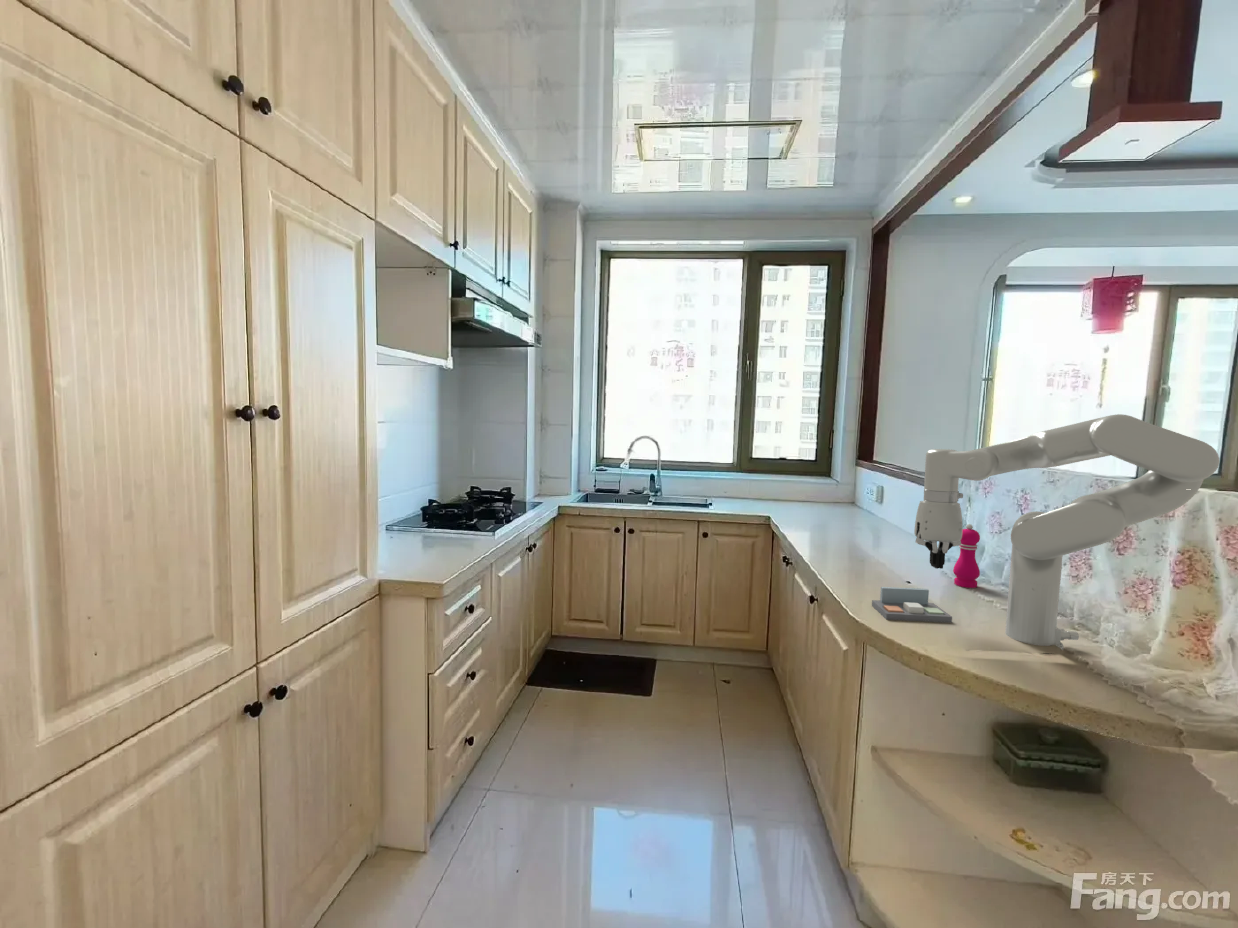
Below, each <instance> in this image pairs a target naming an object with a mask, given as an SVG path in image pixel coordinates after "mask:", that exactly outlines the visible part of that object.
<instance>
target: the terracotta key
mask: <svg viewBox="0 0 1238 928" xmlns="http://www.w3.org/2000/svg"><path fill="white" fill-rule="evenodd" d="M884 609H885V610H887V611H888V612H900V613H903V610H902V609H901V608H899V607H898V606H885V605H884Z"/></svg>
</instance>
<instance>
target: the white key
mask: <svg viewBox="0 0 1238 928" xmlns="http://www.w3.org/2000/svg"><path fill="white" fill-rule="evenodd" d="M903 609H904V610H905V611H907V612H908V613H921V614H924V607H923V606H921V605H920V604H919V603H909V602H904V604H903Z"/></svg>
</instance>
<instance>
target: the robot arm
mask: <svg viewBox="0 0 1238 928" xmlns="http://www.w3.org/2000/svg"><path fill="white" fill-rule="evenodd" d="M1109 456H1112V457H1114V458H1116V459H1119V460H1121V461H1123V462H1127V463H1129V464H1132V465H1134V466H1136V467H1139V468H1141V469H1144V470H1147V472H1146V473H1144V474H1143V475H1141V476H1139V477H1137V478H1135V479H1132V480H1130V481H1126V482H1124V483H1121V484H1118V485H1116V486H1113V487H1110V488H1106V489H1104V490H1101V491H1098V492H1094V493H1090V494H1086V495H1082V496H1080V497H1077V498H1075V499H1074V500H1072V501H1071V502H1070V503H1069V504H1068V505H1065V506H1062V507H1059V508H1054V509H1053V510H1049V511H1046V512H1044V511H1035V510H1034V511H1029V512H1026V513H1024V514H1022V515H1020V516H1019V517H1018V518H1017V519H1016V520H1015V522H1014V524H1013V525H1012V528H1011V533H1010V542H1011V544H1012V545H1011V554H1010V555H1011V556H1010V567H1009V578H1008V579H1009V582H1008V590H1007V591H1008V593H1007V608H1006V620H1005V633H1004V634H1005V635H1006V636H1007V637H1008V638H1011V639H1013V640H1015V641H1017V642H1020V643H1023V644H1024V643H1025V644H1029V645H1034V646H1041V647H1042V646H1044V647H1047V646H1048V647H1050V646H1056V647H1057V648H1059V649H1060V650H1062V651H1063V650H1064V644H1063V643H1062V642H1061V641H1064V640H1070V641H1071V640H1072V641H1078V640H1079V639H1080V636H1079V633H1078V632H1077V631H1073V630H1072V631H1071V630H1066V631H1065V629H1064V628H1060V627H1057V625H1058V612H1059V601H1060V600H1059V599H1060V590H1061V589H1060V588H1061V582H1062V581H1061V579H1062V569H1063V567H1062V566H1063V556H1066V555H1069V554H1073V553H1076V552H1080V551H1083V550H1088V549H1090V548H1094V547H1097V546H1101V545H1103V544H1106V543H1109V542H1111V541H1113V540H1114V539H1116V538H1118V537H1119V536H1120V535H1121V534H1122V533H1123V531H1124V530H1125V528H1127V527H1130V526H1133V525H1135V524H1136V525H1137V524H1138V523H1142V522H1145V521H1148V520H1151V519H1154V518H1157V517H1159V516H1163V515H1166V514H1168V513H1171V512H1173V511H1175V510H1178V509H1179V508H1181V507H1182V506H1184V505H1185V504H1186V503H1188V502H1189V501H1190V500H1191V499H1192V498H1193V497H1194V496H1195V495H1196V494H1197V492H1198V491H1199V490H1200V489H1201V486H1202V484H1203V482H1204V480H1206V479H1208V478H1209V477H1210V476H1212V475H1214V473H1216V471H1217V470H1218V468H1219V466H1220V465H1219V464H1220V457H1219V454H1218V452H1217V450H1216V449H1215V448H1214V447H1213V446H1211V444H1209V443H1207V442H1205V441H1202V440H1200V439H1197V438H1194V437H1192V436H1187V435H1185V434H1183V433H1179V432H1176V431H1173V430H1171V429H1170V430H1169V429H1167V428H1165V427H1161V426H1158V425H1155V424H1153V423H1150V422H1148V421H1145V420H1142V419H1139V418H1136V417H1134V416H1131V415H1127V414H1119V413H1118V414H1110V415H1105V416H1102V417H1101V416H1100V417H1097V418H1093V419H1090V420H1089V419H1088V420H1084V421H1081V422H1078V423H1077V422H1076V423H1073V424H1068V425H1064V426H1061V427H1055V428H1052V429H1047V430H1043V431H1039V432H1035V433H1032V434H1030V435H1028V436H1025V437H1021V438H1018V439H1014V440H1010V441H1006V442H1002V443H997V444H994V445H990V446H989V445H988V446H985V447H980V448H976V449H975V448H974V449H973V450H972V449H971V450H962V451H959V450H955V449H949V448H948V449H947V448H944V449H943V448H931V449H928V450H927V452H926V453H925V465H924V466H925V467H924V482H923V483H924V485H923V487H924V488H923V500H920V501H919V504H918V507H917V511H916V516H915V522H914V533H913V534H914V536H915V538H916V539H915V543H916V544H917V545H920V546H924V547H925V548H926V549H927V551H929V564H930V566H931V567H933V568H934V569H940V570H941V569H942V570H943V569H944V565H946V564H945V563H946V562H945V561H946V560H945V559H946V558H945V557H946V554H947V553H948V551H949V550H950V549H952V548H953V547H959V545H961V538H962V529H963V514H962V508H961V507H962V506H961V505H960V504H961V503H959V499H963V498H964V493H962V492H959V491H960V490H959V483H960V482H959V481H960V480H959V479H963V480H968V481H975V482H977V481H984V480H986V479H988V478H990V477H993V476H997V475H1001V474H1007V473H1012V472H1016V471H1022V470H1028V469H1049V468H1055V467H1060V466H1064V465H1065V466H1066V465H1069V464H1073V463H1074V464H1075V463H1080V462H1085V461H1089V460H1094V459H1099V458H1104V457H1109ZM1186 489H1191V490H1186ZM1044 654H1046V655H1047V654H1048V655H1049V654H1051V655H1053V653H1050V652H1049V653H1048V652H1044Z"/></svg>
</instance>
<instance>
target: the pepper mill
mask: <svg viewBox="0 0 1238 928" xmlns="http://www.w3.org/2000/svg"><path fill="white" fill-rule="evenodd" d="M965 527H966V528H962V538H961V545H959V546H958V547H959V549H960V551H959V557H958V559H957V560H956V562H955V564H954V567H953V568H952V569H953V570H952V571H953V574H954V575H955V576H956V577H954V581H953V582H954V585H956V586H957V587H961V588H966V589H976V588H977V587H978V580H977V579H978V578H979V577H980V575H981V572H980V567H979V565H978V562H977V560H976V551H977V550H978V543H980V541H981V535H980V534H979V532H978V531H977V530H975V529H973V528H974V527H973V525H972V524H971V523H968V524H966V525H965Z"/></svg>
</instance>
